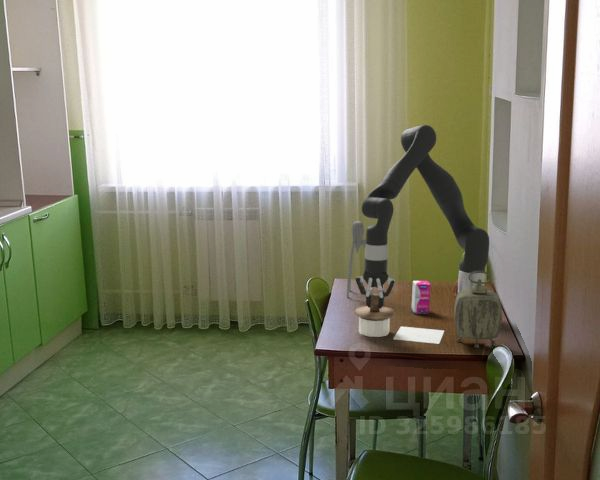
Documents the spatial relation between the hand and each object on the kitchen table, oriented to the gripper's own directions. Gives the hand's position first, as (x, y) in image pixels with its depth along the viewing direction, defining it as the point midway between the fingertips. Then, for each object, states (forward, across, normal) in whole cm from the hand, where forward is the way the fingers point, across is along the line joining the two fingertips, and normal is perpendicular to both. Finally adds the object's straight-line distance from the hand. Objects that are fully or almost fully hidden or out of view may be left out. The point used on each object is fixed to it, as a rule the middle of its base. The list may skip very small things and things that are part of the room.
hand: (374, 307), depth 258 cm
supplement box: (+10, -11, -32) cm, 35 cm away
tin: (+10, -24, -57) cm, 63 cm away
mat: (+9, -15, -2) cm, 18 cm away
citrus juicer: (+10, +16, -50) cm, 53 cm away
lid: (+2, 0, 0) cm, 2 cm away
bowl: (+9, 0, 0) cm, 9 cm away
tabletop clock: (+10, -34, +3) cm, 35 cm away
